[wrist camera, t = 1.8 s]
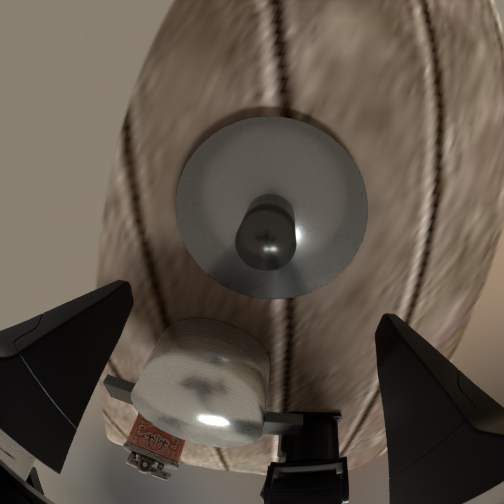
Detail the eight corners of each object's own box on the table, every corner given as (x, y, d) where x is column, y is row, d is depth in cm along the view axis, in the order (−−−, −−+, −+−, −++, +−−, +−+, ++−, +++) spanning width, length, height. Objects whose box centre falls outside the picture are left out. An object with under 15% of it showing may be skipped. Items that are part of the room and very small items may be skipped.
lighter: (139, 411, 33) (117, 463, 24) (140, 403, 32) (116, 458, 23) (188, 431, 34) (171, 485, 25) (192, 425, 32) (175, 482, 23)
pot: (313, 331, 21) (317, 403, 15) (290, 401, 26) (287, 456, 20) (122, 302, 23) (83, 354, 16) (144, 374, 28) (122, 421, 21)
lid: (377, 133, 14) (410, 138, 10) (342, 299, 20) (353, 344, 15) (182, 114, 15) (145, 112, 11) (184, 280, 21) (160, 320, 16)
